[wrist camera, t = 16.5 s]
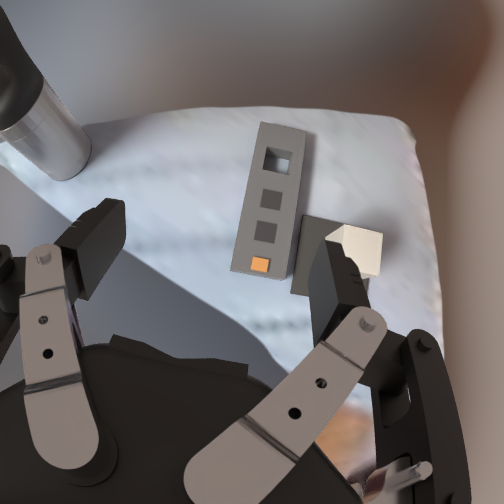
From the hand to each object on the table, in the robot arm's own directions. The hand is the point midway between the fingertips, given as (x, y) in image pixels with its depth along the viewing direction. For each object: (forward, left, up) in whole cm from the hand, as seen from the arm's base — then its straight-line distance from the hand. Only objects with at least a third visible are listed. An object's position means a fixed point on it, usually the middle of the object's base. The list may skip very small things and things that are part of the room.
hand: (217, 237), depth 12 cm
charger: (+15, +6, -28) cm, 32 cm away
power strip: (+4, +13, -29) cm, 32 cm away
